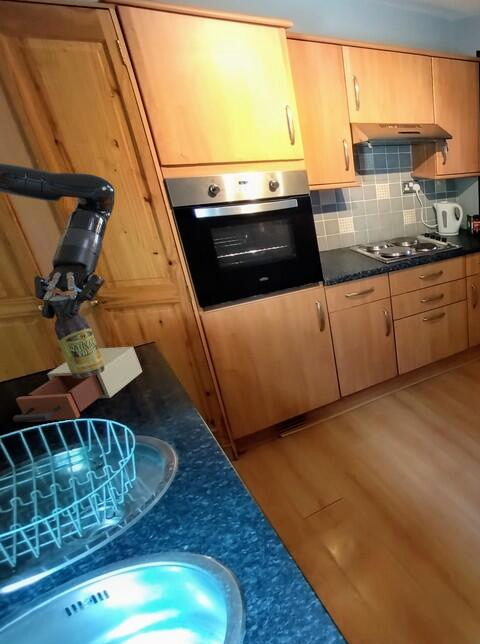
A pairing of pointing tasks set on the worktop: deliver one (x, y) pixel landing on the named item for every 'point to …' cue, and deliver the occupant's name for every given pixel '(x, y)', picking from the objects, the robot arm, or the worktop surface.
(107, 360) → the drawer cabinet
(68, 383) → the reddish brown drawer
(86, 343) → the sauce bottle
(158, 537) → the worktop surface
